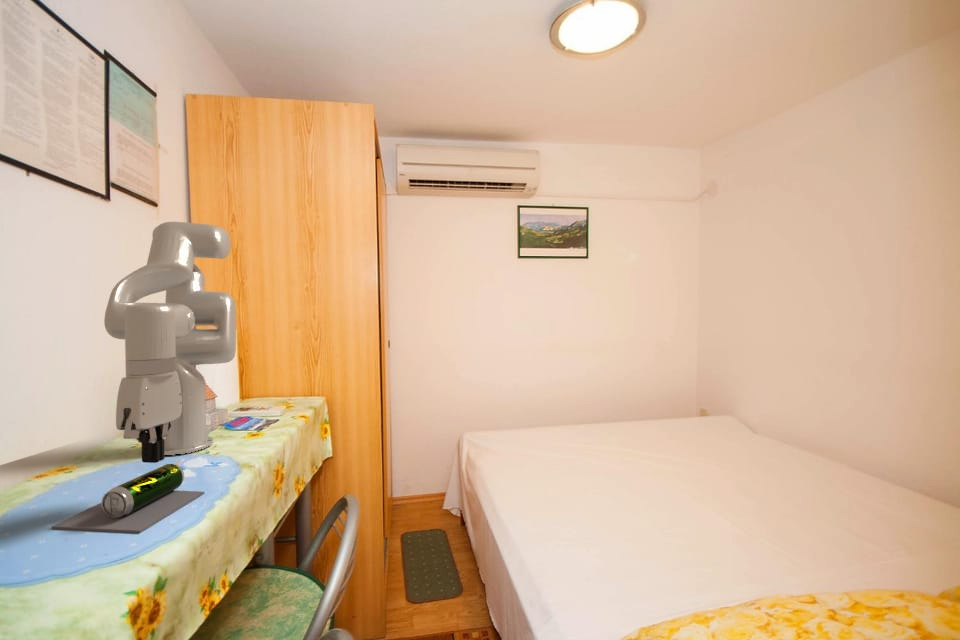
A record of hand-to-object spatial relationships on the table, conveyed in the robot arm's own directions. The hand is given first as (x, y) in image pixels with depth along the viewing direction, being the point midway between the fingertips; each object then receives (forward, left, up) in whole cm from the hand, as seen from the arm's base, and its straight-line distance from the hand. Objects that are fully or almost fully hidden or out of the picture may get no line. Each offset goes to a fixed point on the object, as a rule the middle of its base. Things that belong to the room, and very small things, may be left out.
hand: (153, 460), depth 77 cm
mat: (+4, 0, -8) cm, 9 cm away
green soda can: (-4, +1, -4) cm, 6 cm away
